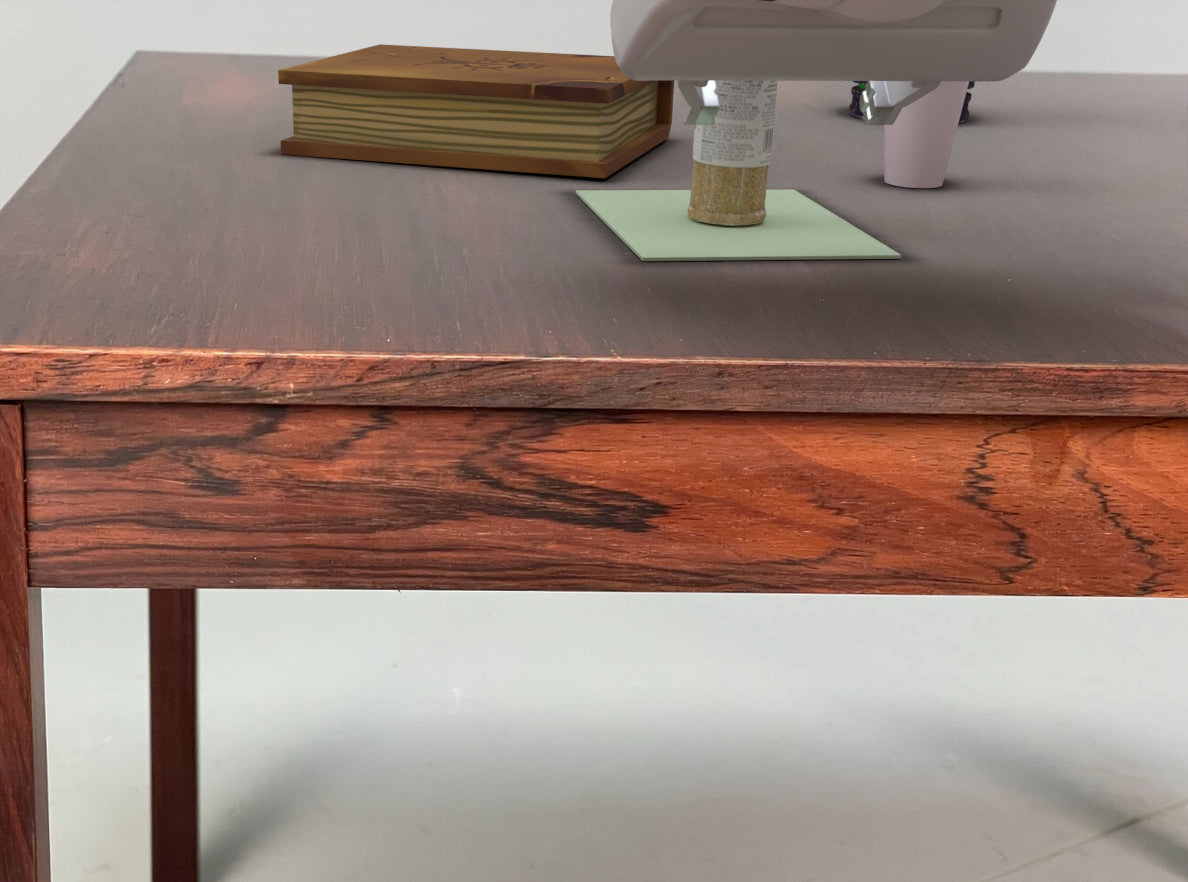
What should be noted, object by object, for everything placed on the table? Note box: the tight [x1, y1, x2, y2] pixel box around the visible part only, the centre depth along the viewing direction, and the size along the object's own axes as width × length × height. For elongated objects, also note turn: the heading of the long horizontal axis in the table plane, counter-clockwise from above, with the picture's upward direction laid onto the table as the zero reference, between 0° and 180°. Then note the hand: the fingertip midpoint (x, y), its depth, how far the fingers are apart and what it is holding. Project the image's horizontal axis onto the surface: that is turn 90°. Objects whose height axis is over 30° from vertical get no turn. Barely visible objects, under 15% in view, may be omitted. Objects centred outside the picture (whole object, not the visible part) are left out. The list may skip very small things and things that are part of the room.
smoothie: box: [883, 81, 969, 189], centre depth 103 cm, size 6×6×14 cm
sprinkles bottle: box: [688, 81, 779, 226], centre depth 90 cm, size 5×5×14 cm
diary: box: [277, 43, 675, 179], centre depth 115 cm, size 23×19×6 cm
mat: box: [575, 189, 902, 262], centre depth 93 cm, size 18×14×1 cm
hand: (785, 114), depth 83 cm, fingers open, 8 cm apart
